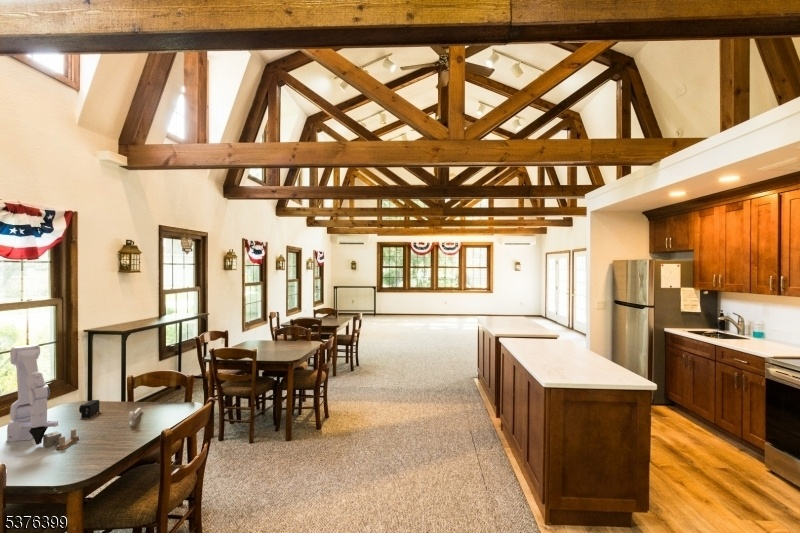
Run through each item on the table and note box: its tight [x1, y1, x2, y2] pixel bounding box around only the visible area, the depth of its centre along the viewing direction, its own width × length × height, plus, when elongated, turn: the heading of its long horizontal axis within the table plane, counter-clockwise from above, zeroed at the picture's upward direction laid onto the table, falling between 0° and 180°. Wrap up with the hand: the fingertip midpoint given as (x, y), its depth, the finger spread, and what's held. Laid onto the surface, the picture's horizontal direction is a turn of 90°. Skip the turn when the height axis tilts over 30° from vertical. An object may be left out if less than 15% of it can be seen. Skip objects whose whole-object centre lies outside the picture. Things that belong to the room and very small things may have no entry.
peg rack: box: [55, 428, 80, 451], centre depth 193 cm, size 3×12×5 cm, turn 12°
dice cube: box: [42, 431, 62, 449], centre depth 192 cm, size 5×5×5 cm
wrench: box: [127, 407, 142, 427], centre depth 224 cm, size 8×2×30 cm
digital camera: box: [78, 399, 100, 419], centre depth 233 cm, size 10×5×7 cm, turn 12°
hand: (38, 443), depth 190 cm, fingers closed
